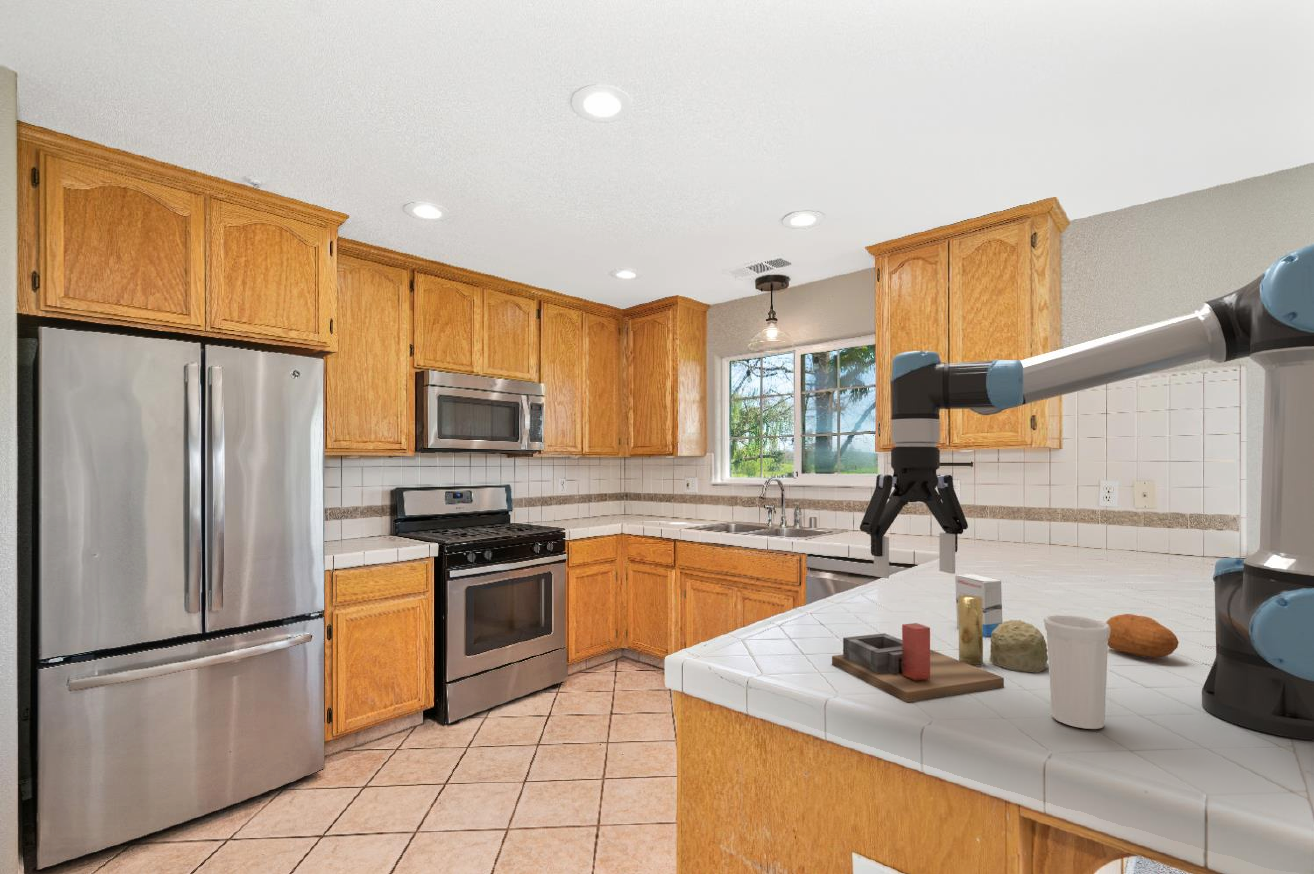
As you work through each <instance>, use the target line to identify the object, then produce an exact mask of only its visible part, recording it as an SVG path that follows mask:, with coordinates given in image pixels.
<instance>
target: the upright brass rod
mask: <svg viewBox="0 0 1314 874" xmlns="http://www.w3.org/2000/svg"><path fill="white" fill-rule="evenodd" d="M958 615H959V628H958V660H959V661H961V662H964V663H967V664H969V665H972V666H974V667H981V666H983V665H984V636H983V605H982V597H979V596H975V595H959V596H958Z"/></svg>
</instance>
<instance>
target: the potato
mask: <svg viewBox="0 0 1314 874" xmlns="http://www.w3.org/2000/svg"><path fill="white" fill-rule="evenodd" d="M1105 623H1107V624H1108V625H1109V626H1110V628H1111V631H1110V637H1109V639H1108V648H1109V649H1112V650H1113V651H1118V652H1120V653H1123V654H1127V655H1131V656H1136V657H1140V658H1148V659H1161V658H1165V657H1167V656H1169V655H1172V654H1173V652H1174V651H1175V650H1176V649H1177V648H1178V647H1179V642H1180V641H1179V640H1178V638H1177V636H1176V634H1175V633H1174V632H1173V631H1172V630H1171V629H1169V628H1167V627H1165V626H1164V625H1162V624H1161V623H1159V622H1158V621H1156V620H1155V619H1153V618H1152V617H1149V616H1144V615H1137V614H1133V613H1132V614H1131V613H1124V614H1118V615H1115V616H1111V617H1109V618H1108V620H1107V621H1106V622H1105Z"/></svg>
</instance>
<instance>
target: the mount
mask: <svg viewBox="0 0 1314 874" xmlns="http://www.w3.org/2000/svg"><path fill="white" fill-rule="evenodd" d="M842 638H843V639H842V641H843V643H842V644H843V645H842V646H843V647H842V648H843V649H842V654H835V655H831V664H832V665H834V666H835V667H837V668H839V669H840V670H843V671H845V672H847V673H849V674H851V675H852V676H855V677H856V678H858V679H860V680H862V681H864V682H866V683H868V684H870V685H872V686H874V687H876V688H878V689H880V690H882V691H884V692H886V693H888V694H889V695H891V696H894V697H896V698H897V699H899V700H902V701H903V702H906V703H910V702H917V701H922V700H929V699H935V698H944V697H949V696H956V695H960V694H961V695H962V694H967V693H969V694H970V693H974V692H981V691H986V690H994V689H1000V688H1005V677H1004V676H1003V677H1002V676H1001V675H997V674H995V673H992V672H990V671H988V670H985V669H982V668H980V667H978V666H972V665H969V664H967V663H964V662H961V661H959V659H956V658H953V657H951V656H948V655H945V654H943V653H941V652H937V651H935V650H933V649H930V679H923V680H916V681H915V680H913V679H911V678H909V677H907V676H904V675H902V671H901V670H899V659H902V638H901V639H900V638H897V637H895V636H893V635H890V634H887V633H885V632H883V633H876V634H874V633H873V634H867V635H866V634H865V635H857V636H856V635H855V636H846V637H842Z"/></svg>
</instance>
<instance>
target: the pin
mask: <svg viewBox="0 0 1314 874" xmlns="http://www.w3.org/2000/svg"><path fill="white" fill-rule="evenodd" d="M901 631H902V632H901V640H902V659H899V670H901V671H902V675H904V676H907V677H909V678H911V679H913V680H915V681H916V680H923V679H930V650H931V627H929V626H926V625H923V624H921V623H918V622H915V623H903V624H902V625H901Z"/></svg>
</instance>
